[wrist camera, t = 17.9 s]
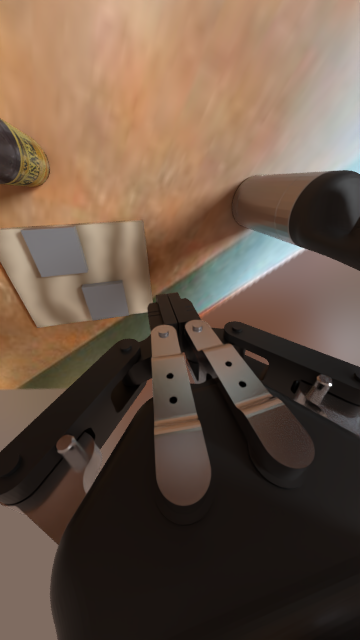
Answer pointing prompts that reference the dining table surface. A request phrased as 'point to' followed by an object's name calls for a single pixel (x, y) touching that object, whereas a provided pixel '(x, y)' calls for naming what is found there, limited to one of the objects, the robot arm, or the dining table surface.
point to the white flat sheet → (66, 290)
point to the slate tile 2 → (106, 299)
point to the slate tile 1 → (56, 250)
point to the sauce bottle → (21, 158)
